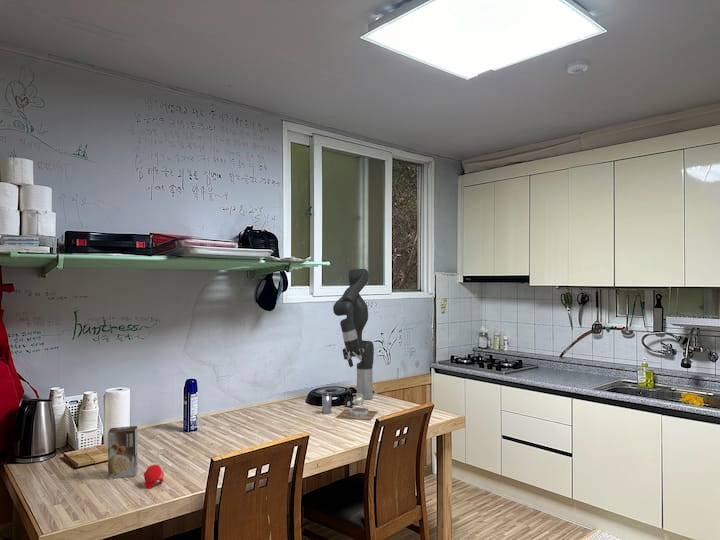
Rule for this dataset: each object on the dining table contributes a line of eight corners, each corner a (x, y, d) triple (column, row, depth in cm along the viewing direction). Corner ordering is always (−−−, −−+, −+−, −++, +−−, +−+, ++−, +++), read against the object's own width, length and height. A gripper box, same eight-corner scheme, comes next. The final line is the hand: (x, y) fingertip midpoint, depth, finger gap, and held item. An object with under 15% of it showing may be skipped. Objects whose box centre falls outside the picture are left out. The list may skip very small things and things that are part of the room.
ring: (352, 411, 259) (352, 406, 259) (370, 412, 257) (370, 408, 257) (347, 416, 250) (347, 411, 250) (366, 417, 248) (365, 412, 248)
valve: (357, 404, 279) (343, 408, 270) (357, 392, 280) (343, 396, 270) (366, 406, 275) (352, 410, 266) (366, 394, 275) (352, 398, 266)
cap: (147, 470, 174) (138, 466, 169) (164, 463, 175) (156, 459, 170) (149, 493, 170) (140, 490, 165) (166, 487, 170) (158, 483, 165)
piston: (323, 413, 260) (323, 391, 261) (332, 413, 259) (332, 392, 260) (321, 415, 256) (321, 393, 256) (329, 416, 255) (329, 394, 255)
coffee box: (138, 469, 183) (138, 425, 184) (135, 476, 177) (136, 430, 177) (110, 472, 181) (110, 427, 181) (107, 479, 174) (107, 432, 175)
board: (344, 411, 265) (344, 409, 265) (378, 413, 260) (378, 411, 260) (334, 420, 247) (334, 418, 247) (370, 422, 243) (370, 420, 243)
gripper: (365, 335, 266) (372, 364, 268) (345, 335, 275) (352, 363, 277) (356, 340, 260) (363, 370, 262) (336, 340, 270) (343, 369, 272)
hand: (357, 366), depth 270 cm, fingers open, 8 cm apart
